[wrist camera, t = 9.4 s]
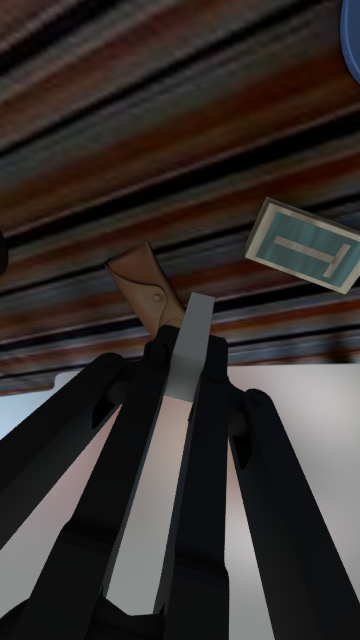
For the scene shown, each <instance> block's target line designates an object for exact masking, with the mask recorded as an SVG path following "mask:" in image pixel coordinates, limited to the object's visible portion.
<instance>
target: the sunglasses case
mask: <svg viewBox="0 0 360 640" xmlns="http://www.w3.org/2000/svg"><path fill="white" fill-rule="evenodd" d="M104 266H105V267H106V268H107V270H108V271H109V273H110V275H111V276H112V278H113V280H114V281H115V283H116V285H117V286H118V288H119V289H120V291H121V292H122V294H123V295H124V297H125V298H126V300H127V301H128V303H129V304H130V306H131V307H132V309H133V310H134V312H135V313H136V315H137V316H138V318H139V319H140V321H141V322H142V323H143V325H144V326H145V328H146V329H147V331H148V332H149V333H150V335H151V336H152V337H153V338H154V339H155V336H156V334H157V332H158V329H159V328H160V327H161V326H163V325H164V324H167V325H171V326H174V327H178V328H181V325H182V322H183V319H184V316H185V313H186V309H185V308H184V306H183V305H182V303H181V302H180V300H179V299H178V297H177V295H176V294H175V292H174V290H173V288H172V287H171V285H170V283H169V282H168V280H167V278H166V276H165V275H164V273H163V271H162V269H161V267H160V266H159V264H158V262H157V260H156V258H155V256H154V254H153V252H152V249H151V247H150V244H149V243H148V241H142V242H141V243H140V244H139V245H137V246H135V247H133V248H131V249H129V250H127V251H125V252H123V253H121V254H120V255H118V256H116V257H114V258H113V259H111V258H110V259H108V260H107V261H105V262H104Z"/></svg>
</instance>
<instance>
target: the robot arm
mask: <svg viewBox="0 0 360 640" xmlns="http://www.w3.org/2000/svg"><path fill="white" fill-rule="evenodd" d="M7 261H8V254H7V248H6V244H5V241H4V238H3V236H2V234H1V232H0V275H2V273H3V272H4V271H5V269H6V266H7ZM214 298H215V297H211V296H207V295H202V294H198V293H194V292H192V294H191V297H190V300H189V303H188V306H187V310H186V313H185V316H184V319H183V322H182V325H181V328H178V327H174V326H171V325H167V324H164V325H163V326H161V327H160V328H159V329H158V332H157V334H156V336H155V339H154V340H152V341H150V342H147V343H146V345H145V347H144V354H143V359H142V360H139V361H133V362H128V361H125V360H124V358H123V357H122V356H121V355H119V354H116V353H104V354H101V355H100V356H98V357H97V358H96V359H95V360H93V361H92V362H91V363H90V364H89V365H88V366H86V367H85V368H84V369H83V370H82V371H81V372H79V373H78V374H77V375H76V376H75V377H74V378H72V379H71V380H70V381H69V382H68V383H67V384H66V385H64V386H63V387H62V388H61V389H60V390H58V391H57V392H56V393H55V394H54V395H53V396H51V397H50V398H49V399H48V400H47V401H46V402H45V403H43V404H42V405H41V406H40V407H39V408H37V409H36V410H35V411H34V412H33V413H32V414H30V415H29V416H28V417H27V418H26V419H25V420H23V421H22V422H21V423H20V424H19V425H18V426H17V427H15V428H14V429H13V430H12V431H11V432H9V433H8V434H7V435H6V436H5V437H3V438H2V439H1V440H0V550H1V549H2V548H3V546H4V545H5V544H6V543H7V541H8V540H9V539H10V538H11V537H12V536H13V534H14V533H15V532H16V531H17V530H18V528H19V527H20V526H21V525H22V524H23V522H24V521H25V520H26V519H27V518H28V516H29V515H30V514H31V513H32V511H33V510H34V509H35V508H36V507H37V505H38V504H39V503H40V502H41V501H42V499H43V498H44V497H45V496H46V494H47V493H48V492H49V491H50V490H51V488H52V487H53V486H54V485H55V484H56V483H57V481H58V480H59V479H60V478H61V476H62V475H63V474H64V473H65V472H66V470H67V469H68V468H69V467H70V466H71V464H72V463H73V462H74V461H75V460H76V458H77V457H78V456H79V455H80V454H81V452H82V451H83V450H84V449H85V447H86V446H87V445H88V444H89V443H90V441H91V440H92V439H93V437H95V435H96V434H97V433H98V432H99V431H100V429H101V428H102V427H103V426H104V425H105V423H106V422H107V421H108V419H110V417H111V416H112V415H113V414H114V413H115V411H116V410H117V409H118V408H119V406H120V404H122V406H121V409H120V411H119V413H118V416H117V418H116V420H115V422H114V424H113V427H112V429H111V431H110V433H109V435H108V438H107V440H106V442H105V444H104V447H103V449H102V451H101V453H100V456H99V458H98V460H97V462H96V464H95V467H94V469H93V471H92V473H91V476H90V478H89V480H88V482H87V485H86V487H85V489H84V491H83V494H82V496H81V498H80V500H79V502H78V504H77V507H76V509H75V511H74V513H73V515H72V517H71V519H70V520H69V521H68V522H67V523H66V524H65V525H64V527H63V528H62V530H61V531H60V533H59V535H58V537H57V539H56V541H55V543H54V546H53V548H52V550H51V552H50V554H49V556H48V559H47V561H46V563H45V565H44V567H43V569H42V572H41V574H40V576H39V578H38V580H37V582H36V585H35V587H34V589H33V591H32V593H31V595H30V597H29V598H28V599H27V600H25V601H23V602H21V603H20V604H19V605H17V606H15V607H14V608H13V609H11V610H10V611H9V612H7V613H6V614H5V615H4V616H3V617H1V619H0V640H229V576H228V572H227V569H226V567H225V563H224V549H225V547H224V546H225V515H226V483H227V482H226V481H227V450H228V447H227V446H228V439H229V443H230V447H231V452H232V456H233V460H234V464H235V469H236V473H237V478H238V482H239V486H240V490H241V495H242V499H243V504H244V508H245V512H246V517H247V521H248V525H249V530H250V534H251V538H252V543H253V547H254V551H255V556H256V560H257V564H258V568H259V573H260V577H261V582H262V586H263V590H264V594H265V599H266V603H267V608H268V612H269V616H270V621H271V625H272V630H273V634H274V638H275V640H360V603H359V600H358V598H357V596H356V594H355V591H354V589H353V586H352V584H351V582H350V580H349V577H348V575H347V573H346V570H345V568H344V566H343V563H342V561H341V559H340V556H339V554H338V552H337V549H336V547H335V545H334V542H333V540H332V538H331V535H330V533H329V531H328V529H327V526H326V524H325V522H324V519H323V517H322V515H321V512H320V510H319V508H318V505H317V503H316V501H315V499H314V496H313V494H312V491H311V489H310V487H309V484H308V482H307V480H306V477H305V475H304V473H303V471H302V468H301V466H300V464H299V461H298V459H297V457H296V454H295V452H294V450H293V448H292V445H291V443H290V440H289V438H288V436H287V433H286V431H285V429H284V426H283V424H282V422H281V420H280V417H279V415H278V413H277V410H276V408H275V406H274V403H273V401H272V399H271V398H270V397H269V396H268V395H267V394H266V393H265V392H263V391H261V390H258V389H248V390H247V391H246V392H244V391H242V390H240V389H238V388H236V387H235V386H234V385H233V384H231V382H230V381H229V377H228V376H227V362H228V344H227V342H226V340H225V338H221V337H217V336H213V335H209V332H210V325H211V318H212V311H213V305H214ZM164 395H166V396H170V397H173V398H177V399H181V400H184V401H188V402H193V405H192V408H191V411H190V414H189V418H188V421H189V422H188V428H187V434H186V439H185V445H184V451H183V456H182V461H181V467H180V473H179V478H178V484H177V489H176V495H175V501H174V506H173V512H172V517H171V524H170V528H169V535H168V540H167V545H166V551H165V557H164V562H163V568H162V573H161V578H160V584H159V588H158V592H157V596H156V600H155V605H154V610H153V614H148V615H135V616H130V615H127V614H126V613H124V612H123V611H122V610H120V609H119V608H118V607H117V606H115V605H114V604H112V603H111V602H110V601H109V600H108V599H106V595H107V592H108V588H109V584H110V581H111V576H112V573H113V569H114V565H115V562H116V558H117V555H118V551H119V548H120V544H121V541H122V537H123V534H124V531H125V528H126V524H127V521H128V517H129V514H130V511H131V507H132V503H133V500H134V497H135V493H136V490H137V486H138V483H139V480H140V476H141V473H142V469H143V466H144V463H145V459H146V456H147V452H148V449H149V446H150V442H151V439H152V435H153V432H154V428H155V425H156V421H157V418H158V415H159V411H160V408H161V404H162V400H163V396H164Z"/></svg>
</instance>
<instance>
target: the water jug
mask: <svg viewBox="0 0 360 640" xmlns="http://www.w3.org/2000/svg"><path fill="white" fill-rule="evenodd" d="M340 38H341V47H342V52H343V56H344V59H345V62H346V64H347V67H348V69H349V71H350V72H351V74H352V76H353V77H354V78H355V80H356V81H357V82H358V83H359V84H360V0H343V4H342V10H341V20H340Z"/></svg>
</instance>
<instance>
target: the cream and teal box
mask: <svg viewBox="0 0 360 640" xmlns="http://www.w3.org/2000/svg"><path fill="white" fill-rule="evenodd" d="M245 257H246V258H249V259H251V260H254V261H257V262H259V263H262V264H265V265H267V266H270V267H273V268H276V269H278V270H281V271H284V272H286V273H289V274H292V275H295V276H297V277H300V278H303V279H305V280H308V281H311V282H313V283H316V284H319V285H322V286H324V287H327V288H330V289H332V290H335V291H338V292H340V293H343V294H346V293H347V292H348V290H349V289H350V288H351V286H352V285H353V283H354V282H355V281H356V279H357V278H358V277H359V275H360V231H358V230H356V229H353V228H350V227H347V226H345V225H342V224H339V223H336V222H334V221H331V220H328V219H326V218H323V217H320V216H317V215H315V214H312V213H309V212H306V211H304V210H301V209H298V208H295V207H293V206H290V205H287V204H285V203H282V202H279V201H276V200H274V199H271V198H268V197H266V199H265V202H264V204H263V206H262V208H261V211H260V213H259V215H258V217H257V220H256V222H255V224H254V226H253V229H252V231H251V233H250V235H249V238H248V240H247V242H246V245H245Z"/></svg>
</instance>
